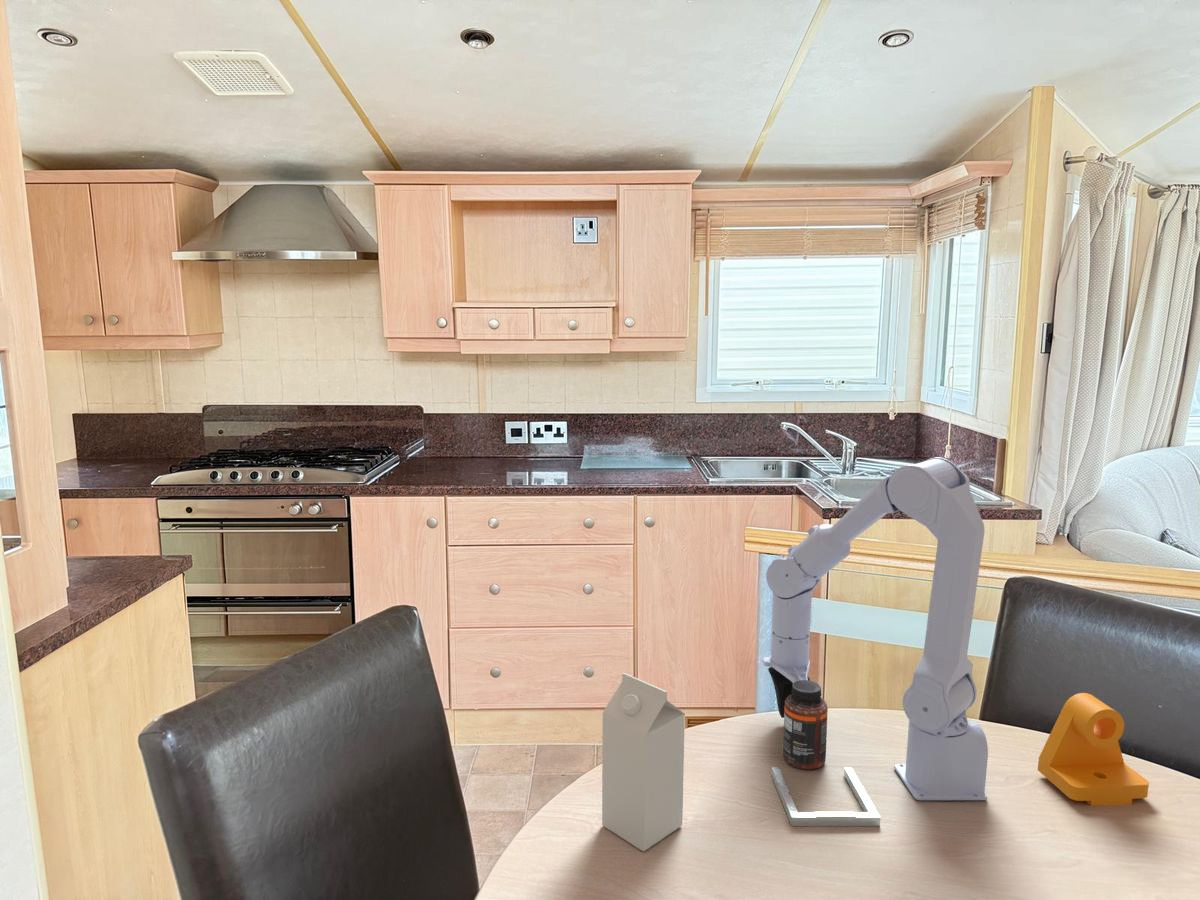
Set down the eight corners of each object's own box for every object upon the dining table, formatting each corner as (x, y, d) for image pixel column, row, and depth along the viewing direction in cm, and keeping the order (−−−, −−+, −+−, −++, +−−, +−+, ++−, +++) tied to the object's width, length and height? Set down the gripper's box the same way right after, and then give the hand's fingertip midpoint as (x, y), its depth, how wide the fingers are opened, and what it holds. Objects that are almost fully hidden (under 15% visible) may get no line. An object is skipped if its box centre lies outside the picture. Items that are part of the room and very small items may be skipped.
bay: (851, 775, 108) (851, 767, 108) (879, 826, 97) (880, 816, 97) (771, 775, 108) (771, 767, 108) (791, 826, 97) (791, 816, 97)
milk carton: (640, 802, 102) (642, 664, 99) (682, 826, 97) (686, 682, 94) (601, 826, 97) (602, 681, 94) (644, 853, 92) (646, 701, 89)
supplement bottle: (821, 750, 115) (825, 677, 113) (829, 773, 109) (833, 696, 107) (779, 747, 115) (782, 675, 114) (785, 770, 109) (788, 694, 108)
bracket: (1072, 807, 102) (1081, 720, 100) (1037, 775, 109) (1045, 694, 107) (1150, 803, 102) (1161, 717, 100) (1110, 772, 109) (1119, 691, 108)
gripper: (754, 615, 127) (751, 693, 129) (775, 652, 113) (771, 740, 115) (798, 615, 127) (794, 693, 129) (824, 652, 113) (819, 740, 115)
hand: (786, 715), depth 122 cm, fingers closed
